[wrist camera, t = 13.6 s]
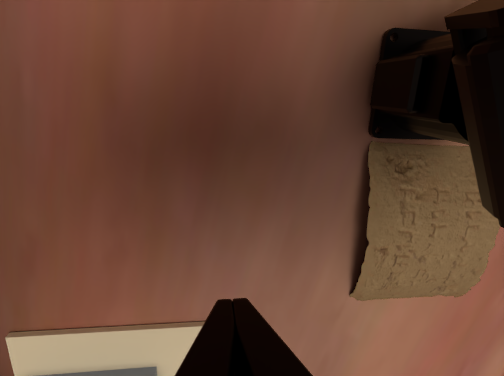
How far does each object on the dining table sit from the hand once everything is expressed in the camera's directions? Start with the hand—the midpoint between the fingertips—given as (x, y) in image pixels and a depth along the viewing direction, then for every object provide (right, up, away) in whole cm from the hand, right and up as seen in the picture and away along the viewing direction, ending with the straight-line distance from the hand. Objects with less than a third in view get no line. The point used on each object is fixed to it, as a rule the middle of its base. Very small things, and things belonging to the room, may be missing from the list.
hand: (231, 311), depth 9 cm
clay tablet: (+13, +1, +16) cm, 20 cm away
